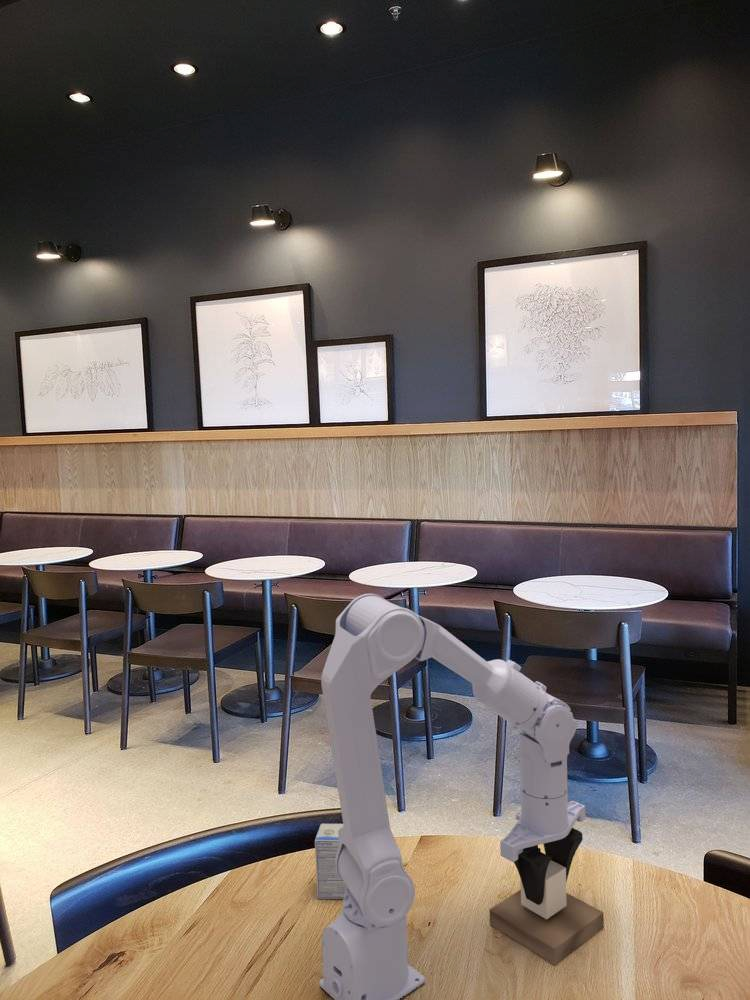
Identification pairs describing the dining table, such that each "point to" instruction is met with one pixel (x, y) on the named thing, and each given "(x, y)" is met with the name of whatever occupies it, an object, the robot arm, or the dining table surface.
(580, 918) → the walnut plinth
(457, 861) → the dining table surface
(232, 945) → the dining table surface
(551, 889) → the off-white block
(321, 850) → the medicine box
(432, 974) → the dining table surface
